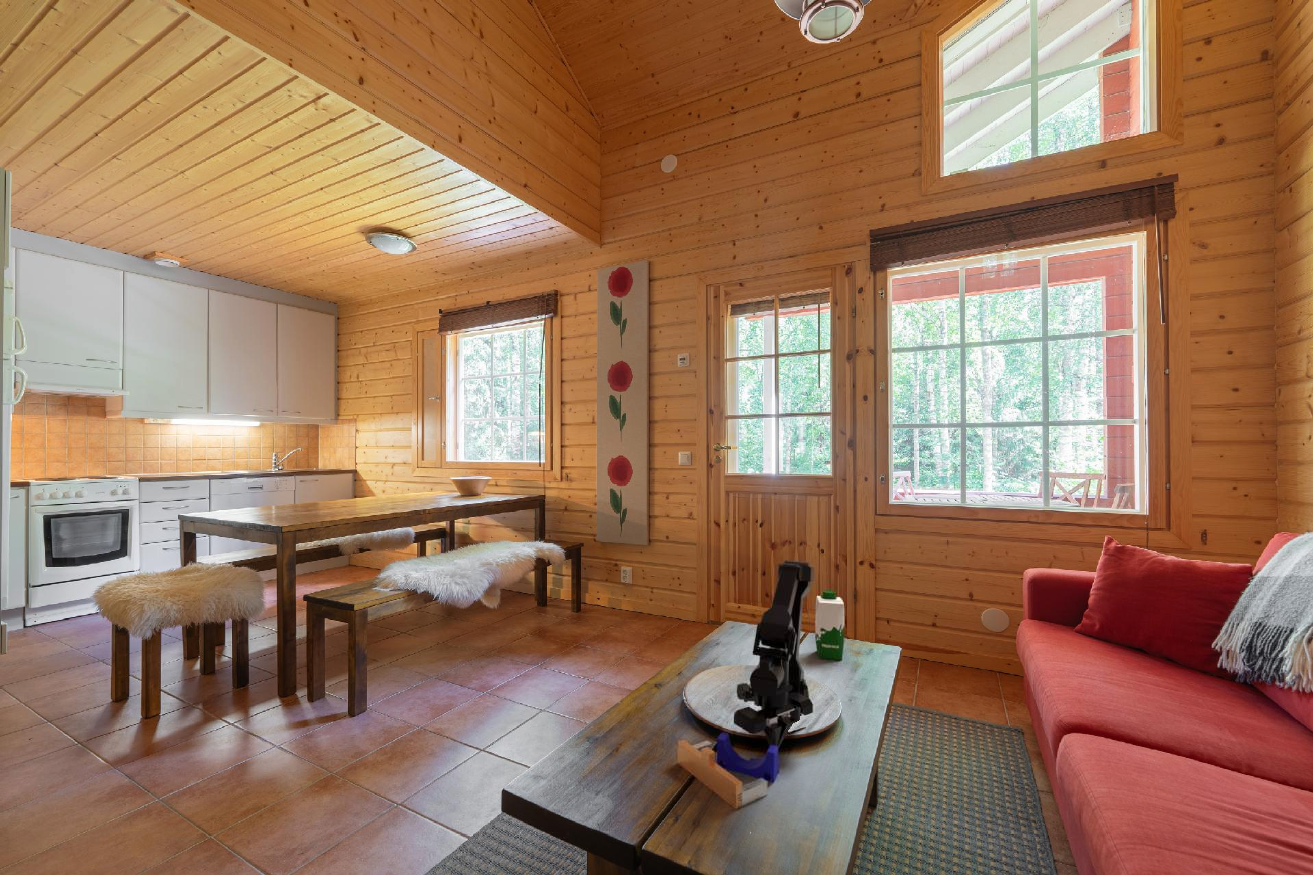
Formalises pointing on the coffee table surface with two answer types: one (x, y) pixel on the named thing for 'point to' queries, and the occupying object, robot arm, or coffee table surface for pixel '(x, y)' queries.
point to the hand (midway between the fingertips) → (773, 751)
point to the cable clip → (754, 767)
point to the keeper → (718, 774)
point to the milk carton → (829, 626)
